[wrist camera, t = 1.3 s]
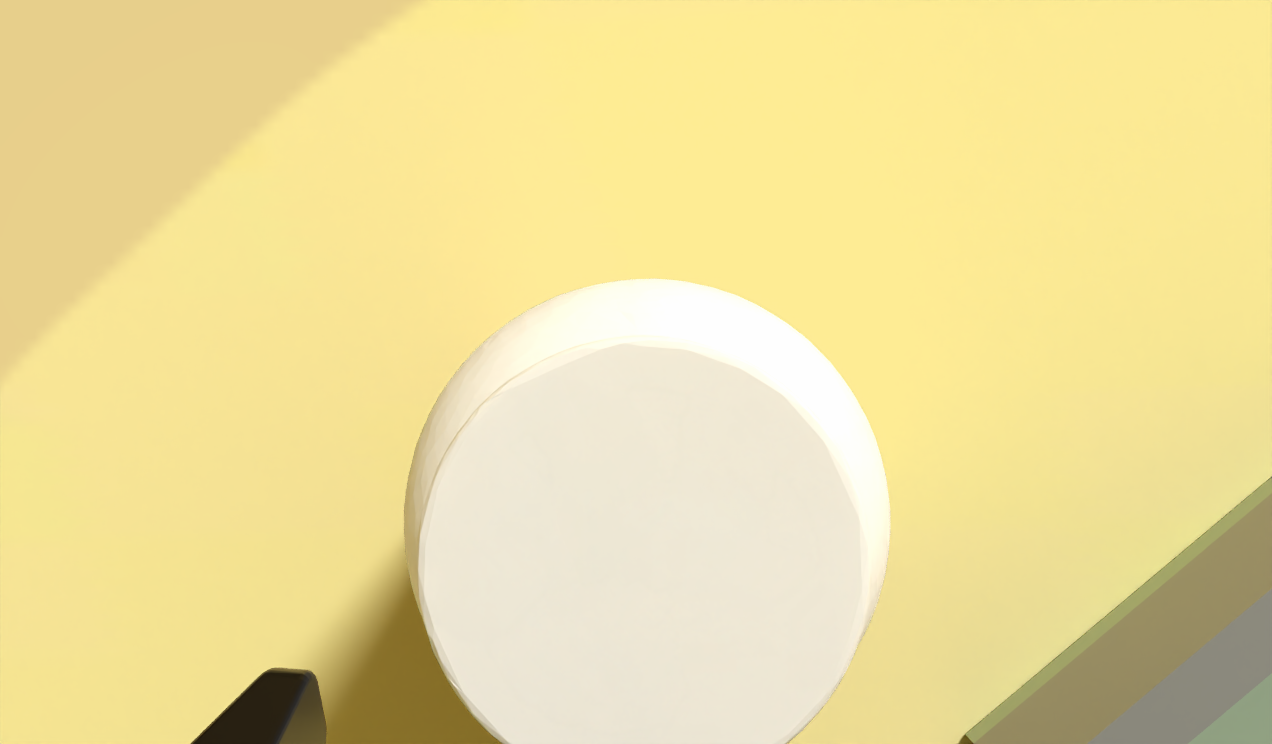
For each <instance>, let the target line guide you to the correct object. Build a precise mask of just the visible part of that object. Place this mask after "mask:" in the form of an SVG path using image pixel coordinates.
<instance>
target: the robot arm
mask: <svg viewBox="0 0 1272 744" xmlns="http://www.w3.org/2000/svg"><path fill="white" fill-rule="evenodd" d="M191 744H326V722H325V717H324V712H323V707H322V702H321V696H320V691H319V686H318V681H317V679H316V676H315V675H314V674H313V673H312V672H311V671H309V670H301V669H288V668H271V669H269V670H267V671H265V672H264V673H262V674H261V675H260V676H259V677H258V678H257V679H256V680H255V681H254V682H253V683H252V684H251V685H250V686H249V687H248V688H247V689H246V690H245V691H244V692H243V693H242V694H241V695H240V696H238V697H237V698H236V699H235V700H234V701H233V702H232V703H231V704H230V705H229V706H228V707H227V708H226V709H225V710H224V711H223V712H222V713H221V714H220V715H219V716H218V717H217V718H216V719H215V720H214V721H213V722H212V723H211V724H210V725H209V726H208V727H207V728H206V729H205V730H204V731H203V732H202V733H201V734H200V735H199V736H198V737H197V738H196V739H195V740H194V741H193V742H192V743H191Z"/></svg>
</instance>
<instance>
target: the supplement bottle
mask: <svg viewBox="0 0 1272 744" xmlns="http://www.w3.org/2000/svg"><path fill="white" fill-rule="evenodd" d="M404 537H405V553H406V559H407V565H408V571H409V576H410V581H411V586H412V589H413V592H414V596H415V599H416V602H417V606H418V609H419V611H420V614H421V616H422V618H423V622H424V626H425V628H426V631H427V634H428V637H429V640H430V643H431V647H432V650H433V653H434V655H435V657H436V659H437V661H438V663H439V665H440V667H441V669H442V670H443V672H444V674H445V676H446V678H447V680H448V682H449V684H450V685H451V687H452V688H453V690H454V691H455V693H456V695H457V696H458V697H459V699H460V700H461V701H462V703H463V704H464V705H465V707H466V708H467V709H468V711H469V712H470V713H471V715H472V716H473V717H474V718H475V719H476V720H477V721H478V722H479V723H480V724H481V725H482V726H483V727H484V728H485V729H486V730H487V731H488V732H489V733H490V734H491V735H492V736H494V737H495V738H496V739H497V740H499V741H500V742H501V743H502V744H787V743H789V742H790V741H791V740H792V739H793V738H794V737H795V736H797V735H798V734H799V733H800V732H801V731H802V730H803V729H804V728H805V727H806V726H807V725H808V724H809V723H810V721H811V720H812V719H813V718H814V717H815V716H816V715H817V714H818V713H819V712H820V710H821V709H822V708H823V706H824V705H825V704H826V702H827V701H828V700H829V698H830V697H831V695H832V694H833V692H834V691H835V689H836V688H837V687H838V685H839V684H840V682H841V680H842V678H843V676H844V674H845V672H846V670H847V668H848V666H849V664H850V662H851V660H852V658H853V656H854V654H855V651H856V648H857V646H858V644H859V643H860V641H861V639H862V637H863V636H864V634H865V631H866V629H867V627H868V625H869V623H870V621H871V618H872V616H873V613H874V611H875V608H876V606H877V603H878V600H879V596H880V592H881V589H882V585H883V581H884V578H885V572H886V566H887V559H888V553H889V541H890V505H889V496H888V488H887V481H886V475H885V471H884V467H883V462H882V459H881V455H880V452H879V449H878V445H877V442H876V439H875V436H874V434H873V431H872V429H871V427H870V424H869V422H868V420H867V418H866V416H865V414H864V412H863V410H862V409H861V407H860V405H859V403H858V401H857V399H856V398H855V396H854V394H853V393H852V391H851V390H850V388H849V387H848V385H847V384H846V382H845V381H844V380H843V378H842V377H841V375H840V374H839V373H838V372H837V370H836V369H835V368H834V367H833V365H832V364H831V363H830V362H829V361H828V360H827V359H826V357H825V356H824V355H823V354H822V353H821V352H820V351H819V350H818V349H817V348H816V347H815V346H814V345H813V344H812V343H811V342H810V341H808V340H807V339H806V338H805V337H804V336H803V335H802V334H800V333H799V332H798V331H796V330H795V329H794V328H792V327H791V326H790V325H789V324H787V323H786V322H784V321H782V320H781V319H779V318H778V317H776V316H775V315H773V314H771V313H770V312H768V311H766V310H765V309H763V308H761V307H760V306H758V305H756V304H754V303H752V302H750V301H748V300H745V299H743V298H741V297H739V296H737V295H734V294H731V293H728V292H725V291H722V290H719V289H716V288H713V287H708V286H704V285H699V284H694V283H690V282H684V281H676V280H666V279H634V280H622V281H614V282H608V283H602V284H597V285H593V286H589V287H585V288H581V289H577V290H574V291H571V292H568V293H565V294H561V295H558V296H556V297H554V298H552V299H549V300H547V301H545V302H543V303H541V304H539V305H537V306H535V307H533V308H531V309H529V310H527V311H526V312H524V313H522V314H521V315H519V316H518V317H516V318H514V319H513V320H511V321H510V322H508V323H507V324H506V325H504V326H503V327H502V328H500V329H499V330H498V331H496V332H495V333H494V334H493V335H492V336H490V337H489V338H488V339H487V340H486V341H484V342H483V343H482V344H481V345H480V346H479V347H478V348H477V349H476V350H475V351H474V352H473V353H472V354H471V355H470V356H469V357H468V359H467V360H466V361H465V362H464V363H463V364H462V365H461V366H460V368H459V369H458V370H457V372H456V373H455V374H454V375H453V377H452V378H451V379H450V381H449V382H448V384H447V385H446V387H445V388H444V390H443V391H442V392H441V394H440V396H439V397H438V399H437V401H436V403H435V405H434V406H433V408H432V410H431V412H430V414H429V416H428V418H427V421H426V423H425V425H424V428H423V430H422V432H421V435H420V437H419V440H418V442H417V445H416V448H415V452H414V456H413V460H412V464H411V468H410V472H409V477H408V483H407V489H406V496H405V506H404Z"/></svg>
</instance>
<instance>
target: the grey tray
mask: <svg viewBox="0 0 1272 744" xmlns="http://www.w3.org/2000/svg"><path fill="white" fill-rule="evenodd" d="M965 735H966V736H967V737H968V738H969V739H970V741H971V742H972V743H973V744H1272V477H1271V478H1270V479H1269V480H1268V481H1266V482H1265V483H1264V484H1263V485H1262V486H1260V487H1259V488H1258V489H1257V490H1256V491H1254V492H1253V493H1252V494H1251V495H1250V496H1248V497H1247V498H1246V499H1245V500H1244V501H1243V502H1241V503H1240V504H1239V505H1238V506H1237V507H1235V508H1234V509H1233V510H1232V511H1231V512H1229V513H1228V514H1227V515H1226V516H1225V517H1223V518H1222V519H1221V520H1220V521H1219V522H1218V523H1216V524H1215V525H1214V526H1213V527H1212V528H1210V529H1209V530H1208V531H1207V532H1206V533H1204V534H1203V535H1202V536H1201V537H1200V538H1198V539H1197V540H1196V541H1195V542H1194V543H1193V544H1191V545H1190V546H1189V547H1188V548H1187V549H1185V550H1184V551H1183V552H1182V553H1181V554H1179V555H1178V556H1177V557H1176V558H1175V559H1173V560H1172V561H1171V562H1170V563H1169V564H1168V565H1166V566H1165V567H1164V568H1163V569H1162V570H1160V571H1159V572H1158V573H1157V574H1156V575H1154V576H1153V577H1152V578H1151V579H1150V580H1148V581H1147V582H1146V583H1145V584H1144V585H1143V586H1141V587H1140V588H1139V589H1138V590H1137V591H1135V592H1134V593H1133V594H1132V595H1131V596H1129V597H1128V598H1127V599H1126V600H1125V601H1123V602H1122V603H1121V604H1120V605H1119V606H1118V607H1116V608H1115V609H1114V610H1113V611H1112V612H1110V613H1109V614H1108V615H1107V616H1106V617H1104V618H1103V619H1102V620H1101V621H1100V622H1098V623H1097V624H1096V625H1095V626H1094V627H1092V628H1091V629H1090V630H1089V631H1088V632H1087V633H1085V634H1084V635H1083V636H1082V637H1081V638H1079V639H1078V640H1077V641H1076V642H1075V643H1073V644H1072V645H1071V646H1070V647H1069V648H1067V649H1066V650H1065V651H1064V652H1063V653H1062V654H1060V655H1059V656H1058V657H1057V658H1056V659H1054V660H1053V661H1052V662H1051V663H1050V664H1048V665H1047V666H1046V667H1045V668H1044V669H1042V670H1041V671H1040V672H1039V673H1038V674H1037V675H1035V676H1034V677H1033V678H1032V679H1031V680H1029V681H1028V682H1027V683H1026V684H1025V685H1023V686H1022V687H1021V688H1020V689H1019V690H1017V691H1016V692H1015V693H1014V694H1013V695H1012V696H1010V697H1009V698H1008V699H1007V700H1006V701H1004V702H1003V703H1002V704H1001V705H1000V706H998V707H997V708H996V709H995V710H994V711H992V712H991V713H990V714H989V715H988V716H987V717H985V718H984V719H983V720H982V721H981V722H979V723H978V724H977V725H976V726H975V727H973V728H972V729H971V730H970V731H969V732H967V733H966V734H965Z"/></svg>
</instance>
